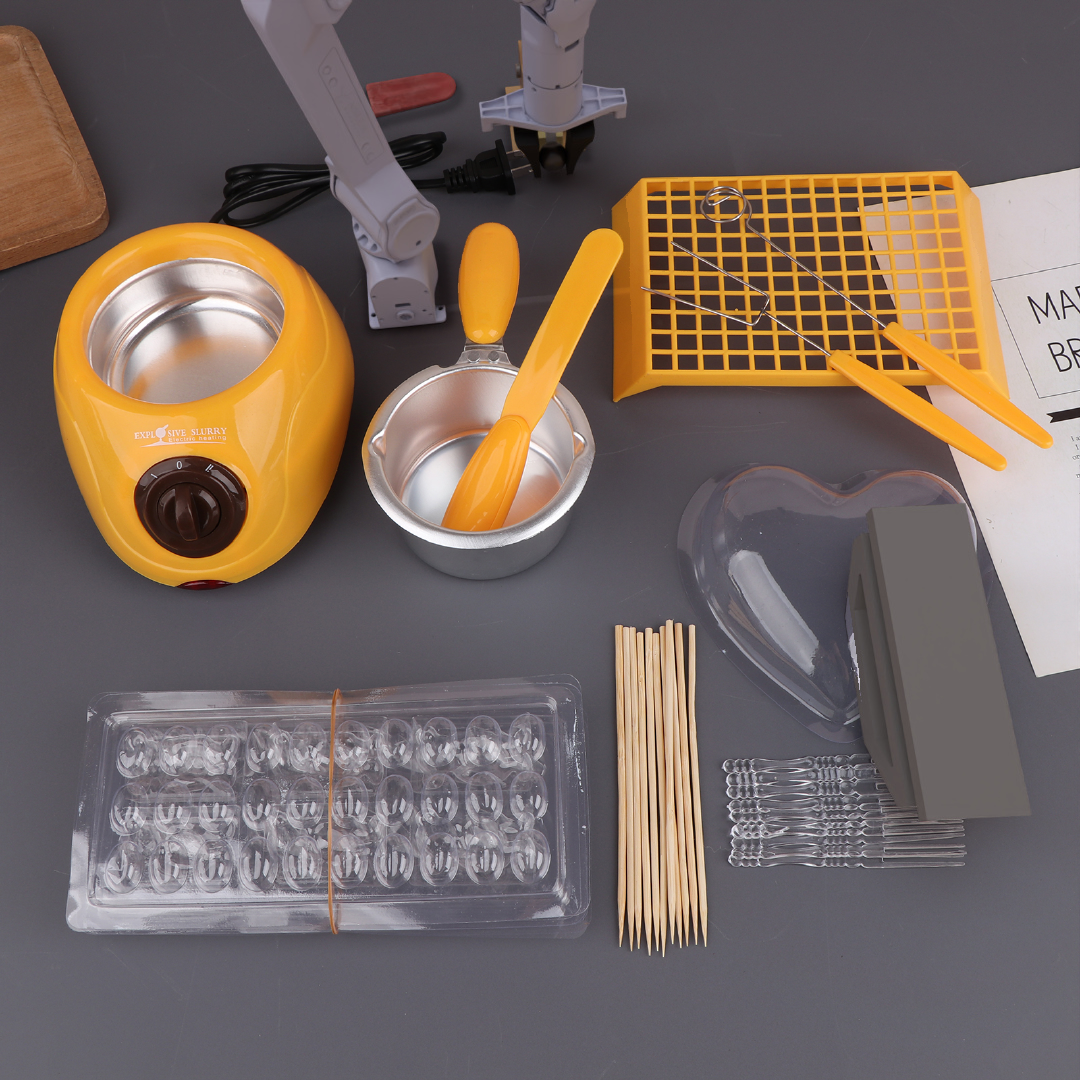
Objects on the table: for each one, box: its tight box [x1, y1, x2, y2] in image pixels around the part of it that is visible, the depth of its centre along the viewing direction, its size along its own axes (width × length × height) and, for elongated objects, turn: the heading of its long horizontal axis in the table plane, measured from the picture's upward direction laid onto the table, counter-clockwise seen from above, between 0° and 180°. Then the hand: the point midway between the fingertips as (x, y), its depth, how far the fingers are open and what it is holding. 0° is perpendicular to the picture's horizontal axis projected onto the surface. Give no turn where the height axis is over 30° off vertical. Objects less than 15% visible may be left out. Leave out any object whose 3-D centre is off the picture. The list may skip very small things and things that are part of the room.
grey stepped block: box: [846, 502, 1033, 822], centre depth 76 cm, size 25×8×11 cm, turn 3°
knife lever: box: [539, 132, 567, 173], centre depth 94 cm, size 12×3×3 cm, turn 6°
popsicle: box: [365, 71, 457, 118], centre depth 102 cm, size 4×2×15 cm
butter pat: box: [538, 131, 563, 152], centre depth 98 cm, size 4×3×2 cm
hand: (553, 168), depth 97 cm, fingers closed on knife lever, 3 cm apart
